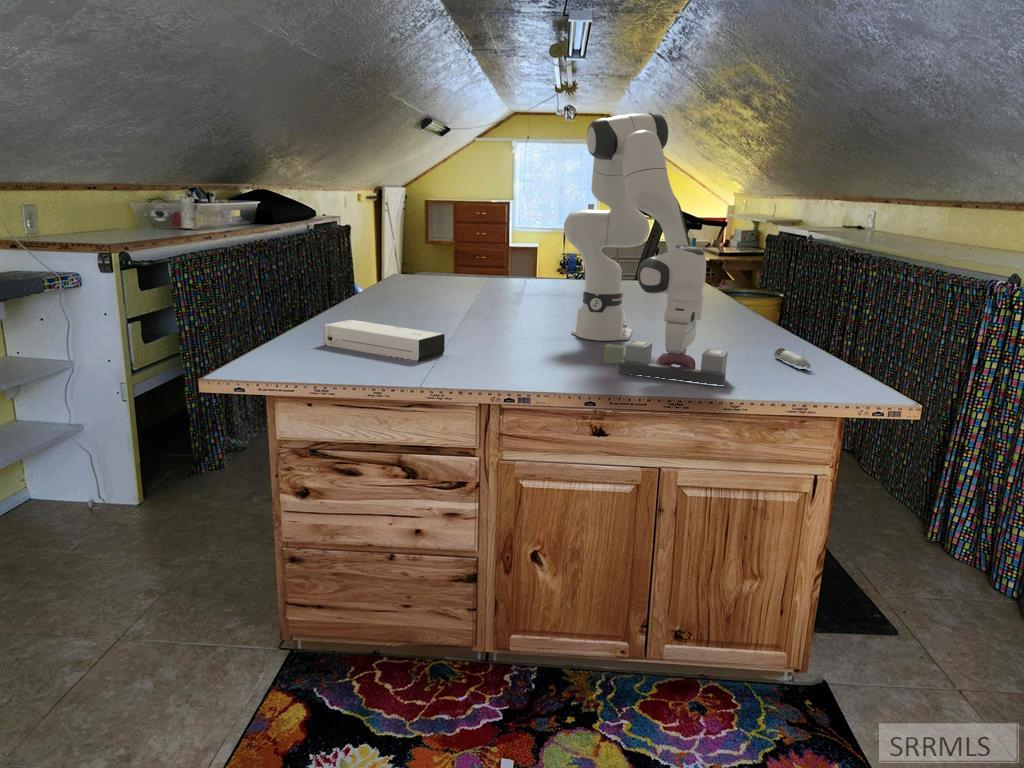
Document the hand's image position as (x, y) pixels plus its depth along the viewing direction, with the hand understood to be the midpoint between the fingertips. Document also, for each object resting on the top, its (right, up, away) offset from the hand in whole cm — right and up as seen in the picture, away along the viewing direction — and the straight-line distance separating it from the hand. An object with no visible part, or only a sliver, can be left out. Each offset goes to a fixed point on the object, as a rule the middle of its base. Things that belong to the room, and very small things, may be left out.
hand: (679, 364), depth 188 cm
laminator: (-79, +4, +16) cm, 81 cm away
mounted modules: (-2, -3, -4) cm, 5 cm away
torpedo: (+34, 0, +12) cm, 36 cm away
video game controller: (-2, -3, -4) cm, 6 cm away
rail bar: (-4, -4, -8) cm, 9 cm away
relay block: (-16, +1, +10) cm, 18 cm away
